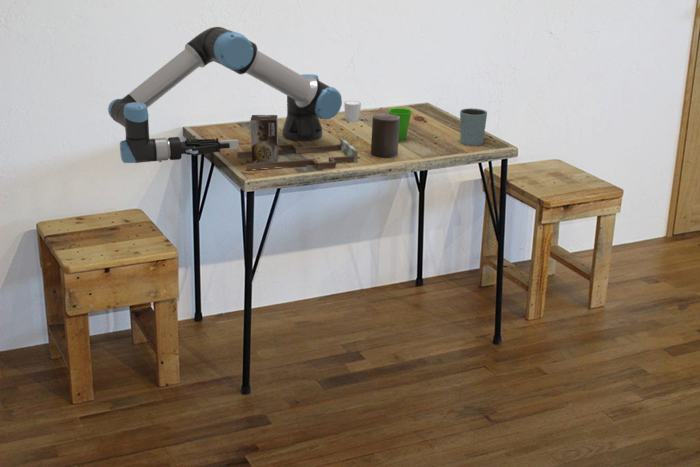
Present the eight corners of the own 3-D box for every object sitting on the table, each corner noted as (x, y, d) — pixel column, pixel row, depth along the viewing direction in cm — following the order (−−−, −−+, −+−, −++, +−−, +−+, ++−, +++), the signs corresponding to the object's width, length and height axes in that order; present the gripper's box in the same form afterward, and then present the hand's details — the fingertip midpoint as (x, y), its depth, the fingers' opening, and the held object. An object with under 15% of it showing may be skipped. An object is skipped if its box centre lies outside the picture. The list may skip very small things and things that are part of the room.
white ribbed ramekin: (363, 119, 371) (364, 102, 369) (354, 122, 366) (355, 105, 363) (349, 116, 375) (349, 99, 372) (340, 120, 369) (340, 103, 367)
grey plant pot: (469, 147, 337) (472, 116, 333) (452, 140, 345) (454, 109, 341) (490, 143, 343) (493, 112, 338) (472, 137, 350) (475, 106, 346)
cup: (409, 143, 341) (410, 114, 337) (385, 141, 342) (386, 112, 338) (412, 136, 349) (413, 108, 345) (389, 134, 351) (390, 106, 347)
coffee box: (278, 159, 318) (278, 114, 312) (277, 165, 312) (277, 119, 306) (252, 159, 318) (251, 114, 312) (251, 165, 312) (250, 119, 306)
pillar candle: (375, 158, 322) (377, 117, 317) (367, 150, 331) (369, 110, 325) (401, 157, 325) (404, 116, 319) (392, 149, 334) (395, 109, 328)
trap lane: (234, 153, 323) (234, 142, 322) (339, 145, 336) (339, 135, 334) (250, 175, 302) (250, 163, 301) (361, 165, 314) (362, 154, 313)
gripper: (165, 154, 309) (234, 149, 316) (171, 165, 298) (242, 160, 305) (164, 132, 306) (233, 128, 314) (170, 143, 295) (242, 138, 302)
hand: (238, 143), depth 309 cm, fingers closed
